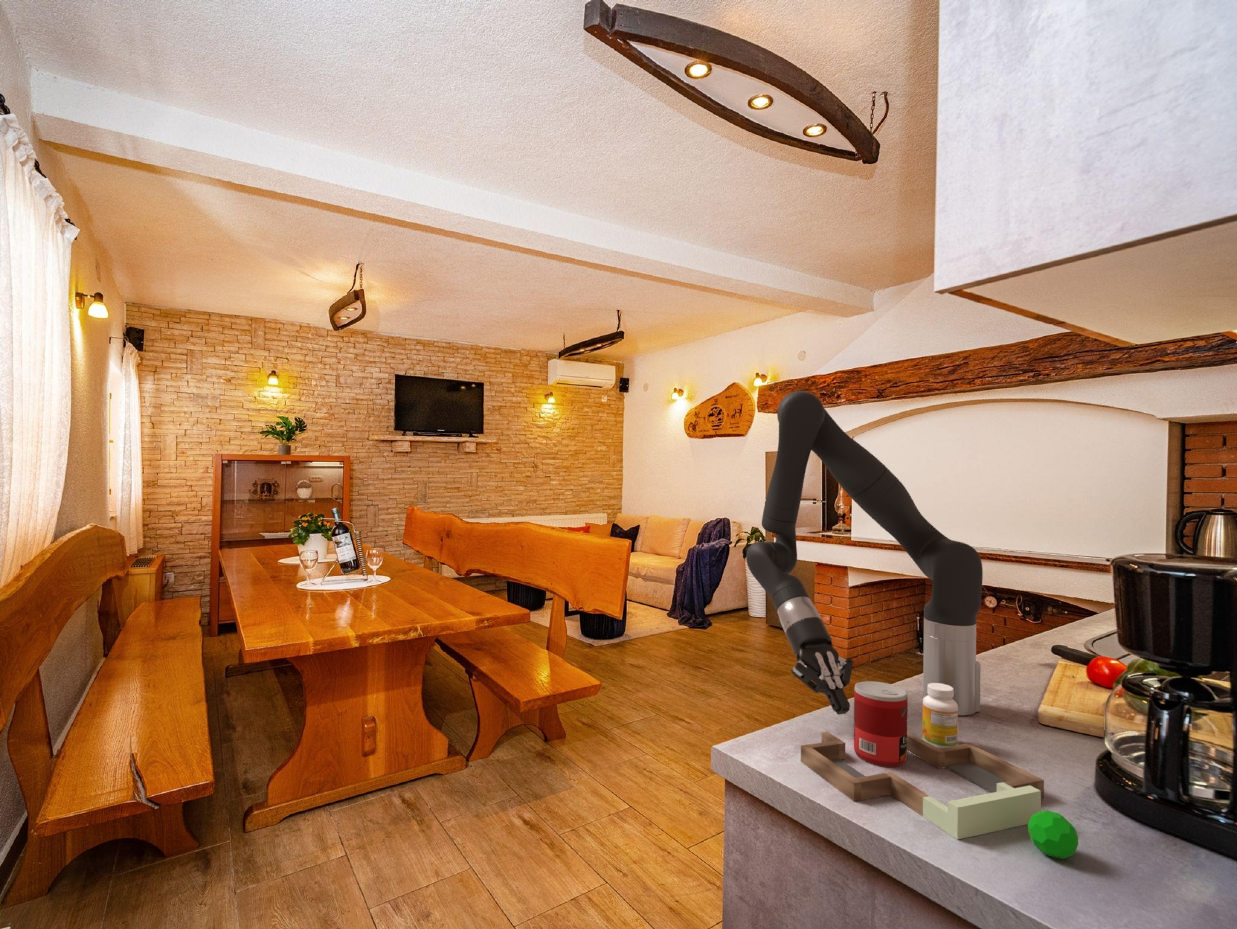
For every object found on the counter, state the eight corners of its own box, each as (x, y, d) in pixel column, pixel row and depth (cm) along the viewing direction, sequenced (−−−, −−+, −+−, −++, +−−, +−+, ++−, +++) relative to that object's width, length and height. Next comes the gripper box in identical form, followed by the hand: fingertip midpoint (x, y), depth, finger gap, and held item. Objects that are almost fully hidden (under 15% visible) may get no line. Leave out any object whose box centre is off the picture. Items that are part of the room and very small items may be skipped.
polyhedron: (1068, 872, 71) (1069, 830, 71) (1021, 850, 75) (1021, 811, 75) (1084, 856, 74) (1084, 817, 74) (1037, 837, 78) (1037, 799, 78)
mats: (813, 764, 96) (813, 762, 96) (934, 745, 104) (934, 743, 104) (891, 821, 81) (891, 819, 81) (1027, 794, 88) (1027, 792, 88)
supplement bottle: (924, 734, 109) (924, 679, 109) (958, 741, 106) (959, 685, 106) (920, 745, 104) (921, 687, 104) (956, 753, 101) (957, 694, 101)
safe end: (922, 816, 82) (923, 786, 82) (1002, 800, 87) (1003, 771, 87) (957, 839, 77) (957, 807, 77) (1040, 821, 81) (1040, 790, 81)
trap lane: (788, 752, 100) (788, 737, 100) (919, 733, 109) (919, 719, 109) (891, 829, 79) (891, 809, 79) (1043, 797, 87) (1043, 780, 88)
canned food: (912, 770, 95) (913, 699, 95) (858, 764, 97) (859, 694, 97) (900, 749, 102) (900, 683, 103) (849, 744, 104) (850, 679, 104)
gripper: (782, 617, 115) (822, 706, 103) (840, 613, 119) (885, 699, 107) (766, 638, 120) (802, 725, 108) (822, 634, 124) (864, 717, 112)
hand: (844, 712), depth 108 cm, fingers closed
